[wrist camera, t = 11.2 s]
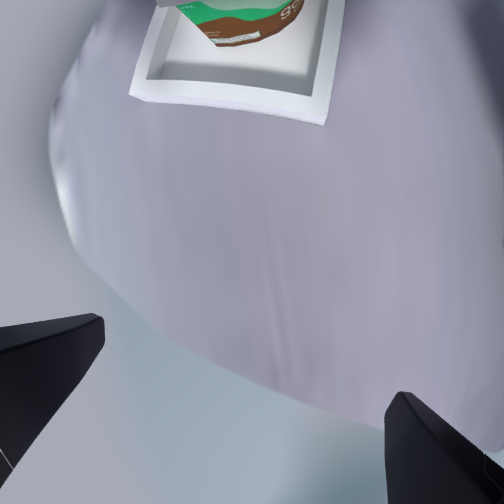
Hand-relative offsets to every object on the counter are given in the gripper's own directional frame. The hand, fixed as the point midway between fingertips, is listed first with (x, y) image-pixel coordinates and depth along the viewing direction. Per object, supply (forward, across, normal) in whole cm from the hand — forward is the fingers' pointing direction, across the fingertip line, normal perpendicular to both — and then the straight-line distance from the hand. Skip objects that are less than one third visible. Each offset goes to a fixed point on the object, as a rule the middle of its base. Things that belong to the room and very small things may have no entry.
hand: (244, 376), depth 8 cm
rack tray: (+12, +5, -18) cm, 22 cm away
